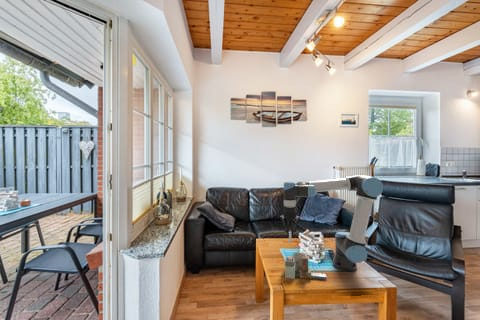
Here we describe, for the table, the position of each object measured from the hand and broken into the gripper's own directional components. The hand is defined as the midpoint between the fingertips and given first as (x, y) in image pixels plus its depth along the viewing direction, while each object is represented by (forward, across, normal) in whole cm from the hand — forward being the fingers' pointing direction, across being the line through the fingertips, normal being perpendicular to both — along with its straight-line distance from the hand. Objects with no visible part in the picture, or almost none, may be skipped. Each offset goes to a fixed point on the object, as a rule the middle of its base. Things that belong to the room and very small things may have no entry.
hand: (290, 242), depth 146 cm
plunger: (+13, 0, 0) cm, 13 cm away
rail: (+21, -12, 0) cm, 24 cm away
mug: (+21, -4, -8) cm, 23 cm away
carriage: (+21, -9, 0) cm, 23 cm away
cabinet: (+21, 0, 0) cm, 21 cm away
